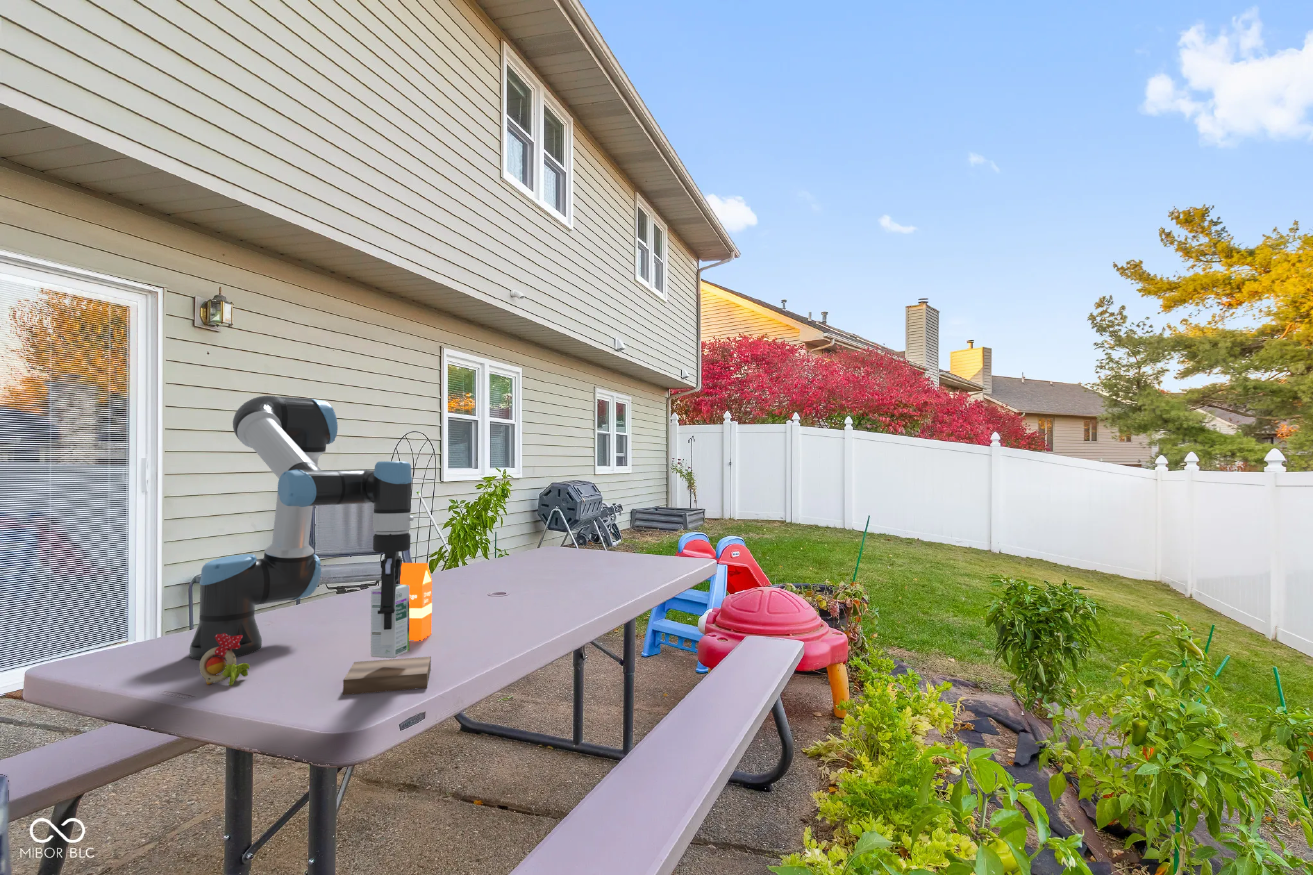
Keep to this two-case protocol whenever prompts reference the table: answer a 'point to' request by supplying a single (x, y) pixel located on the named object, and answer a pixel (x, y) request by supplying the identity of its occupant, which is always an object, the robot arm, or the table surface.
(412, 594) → the orange juice
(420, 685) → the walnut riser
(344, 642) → the table surface
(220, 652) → the bird rattle
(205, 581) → the robot arm
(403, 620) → the syrup box
